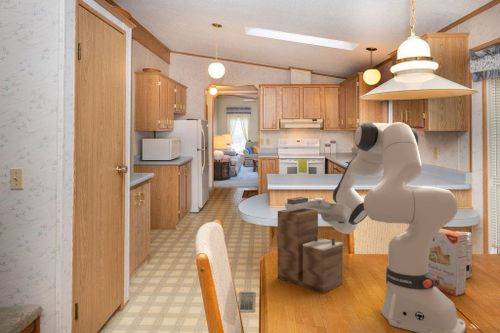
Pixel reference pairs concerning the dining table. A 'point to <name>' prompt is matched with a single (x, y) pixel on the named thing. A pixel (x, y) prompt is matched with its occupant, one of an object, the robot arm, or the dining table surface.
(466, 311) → the dining table surface
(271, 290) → the dining table surface
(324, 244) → the stepped wooden blocks
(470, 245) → the supplement can
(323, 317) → the dining table surface
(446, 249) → the cracker box
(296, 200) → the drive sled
